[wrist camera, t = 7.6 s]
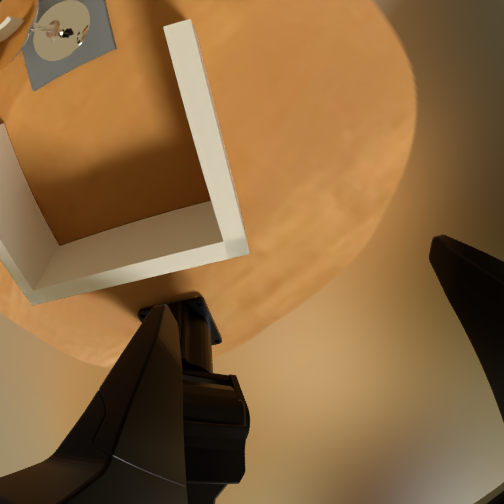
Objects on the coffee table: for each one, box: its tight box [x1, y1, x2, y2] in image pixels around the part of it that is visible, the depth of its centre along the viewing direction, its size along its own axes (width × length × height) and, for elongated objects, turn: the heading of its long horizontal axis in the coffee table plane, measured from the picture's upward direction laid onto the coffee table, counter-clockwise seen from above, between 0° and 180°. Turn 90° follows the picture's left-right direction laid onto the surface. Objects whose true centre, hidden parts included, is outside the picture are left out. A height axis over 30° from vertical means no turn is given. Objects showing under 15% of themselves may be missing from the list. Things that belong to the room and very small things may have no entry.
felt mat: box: [22, 0, 117, 91], centre depth 11 cm, size 6×6×1 cm
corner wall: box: [0, 19, 250, 305], centre depth 15 cm, size 13×16×6 cm
